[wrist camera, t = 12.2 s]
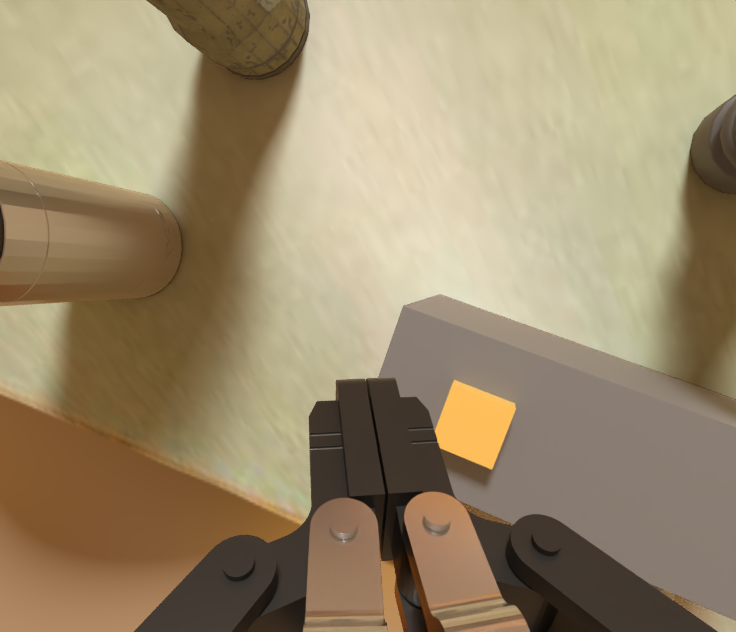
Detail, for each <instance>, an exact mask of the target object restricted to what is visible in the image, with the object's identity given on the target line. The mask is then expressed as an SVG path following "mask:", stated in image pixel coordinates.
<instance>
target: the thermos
mask: <svg viewBox="0 0 736 632" xmlns="http://www.w3.org/2000/svg"><path fill="white" fill-rule="evenodd" d="M147 1H148V2H149V3H151V4H152V5H153V6H155V7H156V8H157V9H159V10H160V11H161V12H162V13H164V14H165V15H166V16H167V17H168V19H169V21H170V23H171V25H172V27H173V28H174V30H175V31H176V32H177V33H178V34H179V35H181V36H182V37H183V38H184V39H185V40H186V41H187V42H188V43H190V44H191V45H192V46H194V47H195V48H196V49H198V50H199V51H201V52H202V53H203V54H205V55H206V56H207V57H209V58H210V59H211V60H213V61H214V62H215V63H217V64H220V65H222V66H225V67H226V68H227V69H228V70H230V71H231V72H232V73H234V74H236V75H239V76H241V77H244V78H246V79H265V78H268V77H271V76H274V75H277V74H279V73H280V72H281V71H283V70H284V69H286V68H287V67H288V66H290V65H291V64H292V63H293V61H294V60H295V59H296V57H297V56H298V55H299V53H300V52H301V51H302V48H303V46H304V43H305V40H306V38H307V35H308V30H309V19H310V14H309V9H308V4H307V0H147Z"/></svg>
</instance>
